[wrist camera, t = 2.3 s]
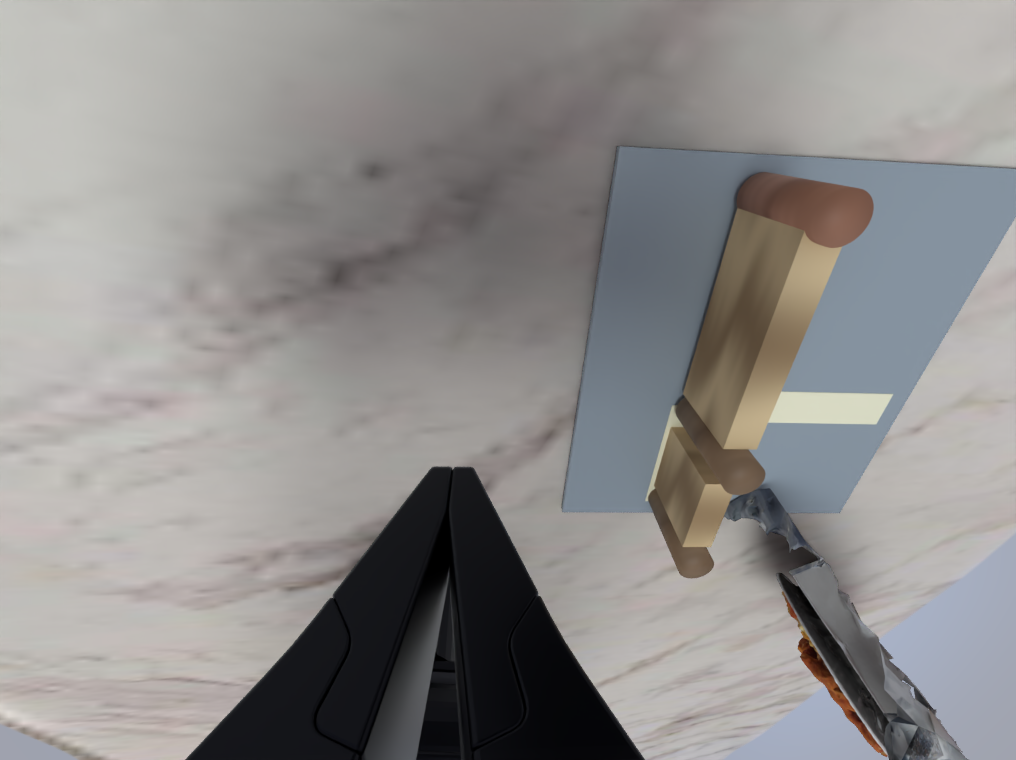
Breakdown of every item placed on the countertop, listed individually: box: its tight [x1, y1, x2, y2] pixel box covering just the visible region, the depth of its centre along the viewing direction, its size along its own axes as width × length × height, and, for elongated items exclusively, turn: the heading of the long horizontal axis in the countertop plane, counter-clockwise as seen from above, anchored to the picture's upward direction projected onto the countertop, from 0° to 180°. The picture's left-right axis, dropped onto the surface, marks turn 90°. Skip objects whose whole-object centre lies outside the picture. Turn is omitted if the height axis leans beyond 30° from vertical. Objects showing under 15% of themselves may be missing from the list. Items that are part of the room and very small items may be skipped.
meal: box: [724, 488, 968, 760], centre depth 25 cm, size 15×4×13 cm, turn 40°
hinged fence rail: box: [676, 172, 874, 495], centre depth 19 cm, size 12×2×5 cm, turn 177°
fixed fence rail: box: [648, 427, 732, 578], centre depth 24 cm, size 6×2×5 cm, turn 177°
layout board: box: [562, 146, 1016, 513], centre depth 23 cm, size 20×18×1 cm
